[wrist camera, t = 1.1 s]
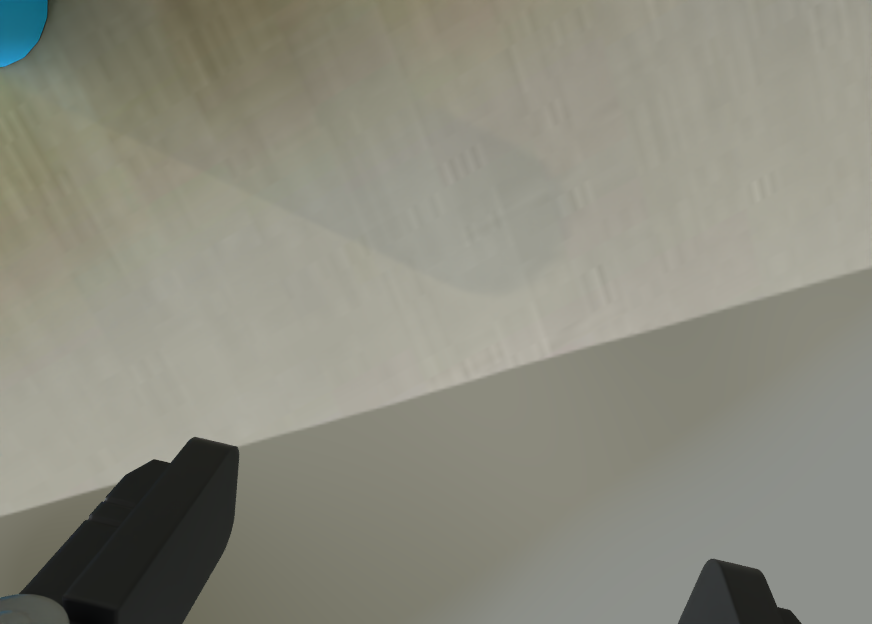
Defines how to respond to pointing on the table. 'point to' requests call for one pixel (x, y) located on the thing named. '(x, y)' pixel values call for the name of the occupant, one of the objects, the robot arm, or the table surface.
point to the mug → (20, 27)
